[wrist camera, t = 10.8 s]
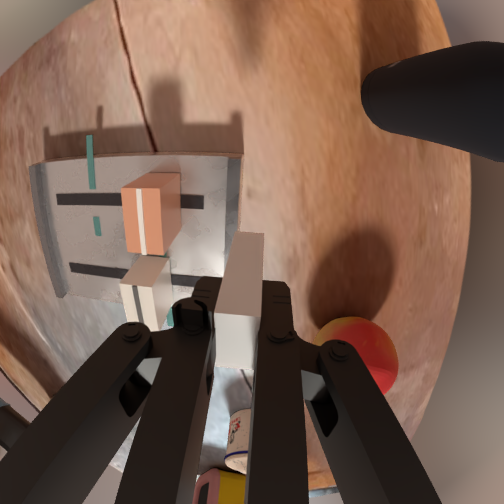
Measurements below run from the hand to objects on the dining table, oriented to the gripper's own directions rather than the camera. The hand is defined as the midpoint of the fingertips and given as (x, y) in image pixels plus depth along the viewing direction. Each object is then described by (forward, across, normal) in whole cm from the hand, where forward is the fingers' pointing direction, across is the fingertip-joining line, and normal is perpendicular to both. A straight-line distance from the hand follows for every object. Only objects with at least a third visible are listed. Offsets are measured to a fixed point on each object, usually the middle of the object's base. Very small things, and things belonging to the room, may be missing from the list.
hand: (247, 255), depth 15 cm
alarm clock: (+11, -3, -74) cm, 75 cm away
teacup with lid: (+12, +3, -39) cm, 41 cm away
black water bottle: (+12, +12, +11) cm, 20 cm away
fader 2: (+9, -9, -8) cm, 15 cm away
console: (+12, -12, -4) cm, 17 cm away
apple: (+12, +12, -15) cm, 23 cm away
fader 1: (+9, -8, 0) cm, 12 cm away
